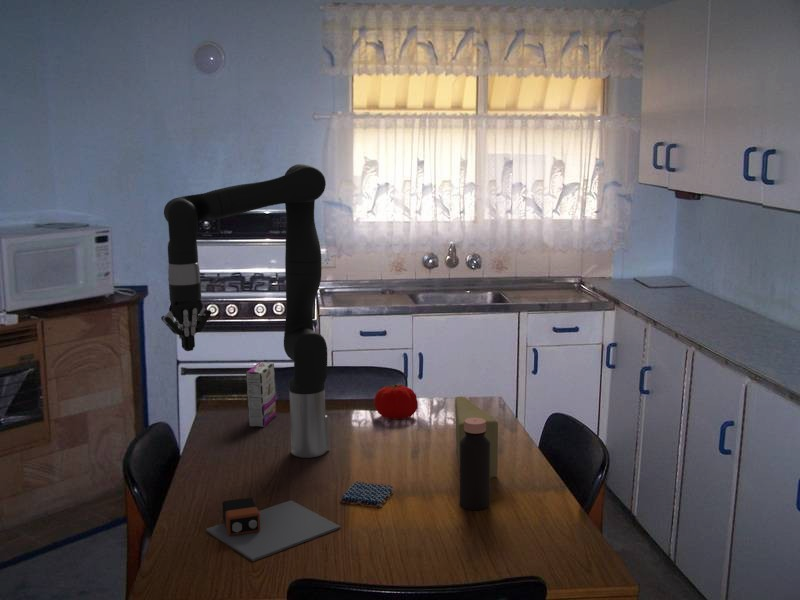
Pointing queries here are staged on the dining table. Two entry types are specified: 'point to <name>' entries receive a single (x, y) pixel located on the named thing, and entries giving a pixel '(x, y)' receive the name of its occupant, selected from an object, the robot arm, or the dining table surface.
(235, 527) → the battery
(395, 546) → the dining table surface
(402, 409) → the tomato
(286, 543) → the rubber mat
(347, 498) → the woven mat
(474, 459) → the bottle
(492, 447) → the cheese
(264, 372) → the candy bar box
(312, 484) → the dining table surface
